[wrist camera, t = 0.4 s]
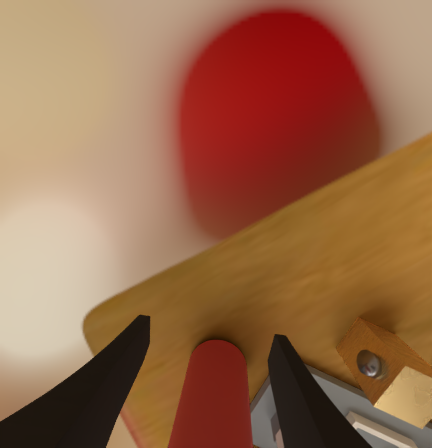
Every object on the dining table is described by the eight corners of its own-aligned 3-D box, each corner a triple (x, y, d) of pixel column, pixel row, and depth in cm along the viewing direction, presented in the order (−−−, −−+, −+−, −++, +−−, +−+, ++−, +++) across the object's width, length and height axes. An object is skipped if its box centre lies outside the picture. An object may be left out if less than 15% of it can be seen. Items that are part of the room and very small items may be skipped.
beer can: (195, 330, 23) (156, 477, 11) (251, 342, 23) (271, 507, 11) (186, 377, 24) (144, 554, 13) (240, 389, 24) (247, 582, 12)
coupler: (376, 367, 22) (428, 432, 16) (330, 346, 22) (366, 403, 16) (400, 336, 21) (464, 393, 15) (352, 314, 21) (398, 362, 15)
